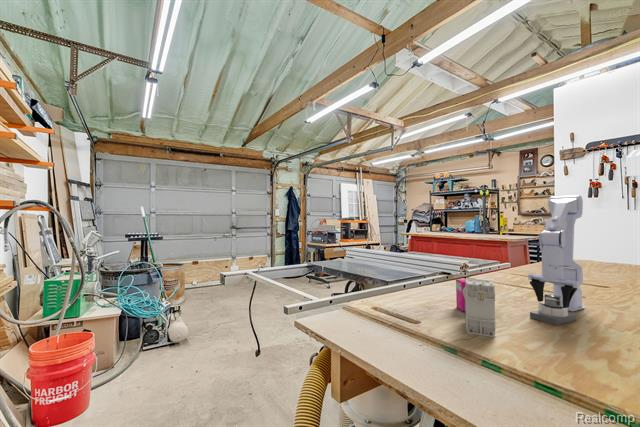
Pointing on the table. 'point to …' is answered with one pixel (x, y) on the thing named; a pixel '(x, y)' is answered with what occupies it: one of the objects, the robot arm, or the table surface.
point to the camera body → (552, 315)
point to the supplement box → (460, 294)
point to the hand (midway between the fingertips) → (552, 304)
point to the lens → (552, 301)
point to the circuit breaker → (480, 307)
